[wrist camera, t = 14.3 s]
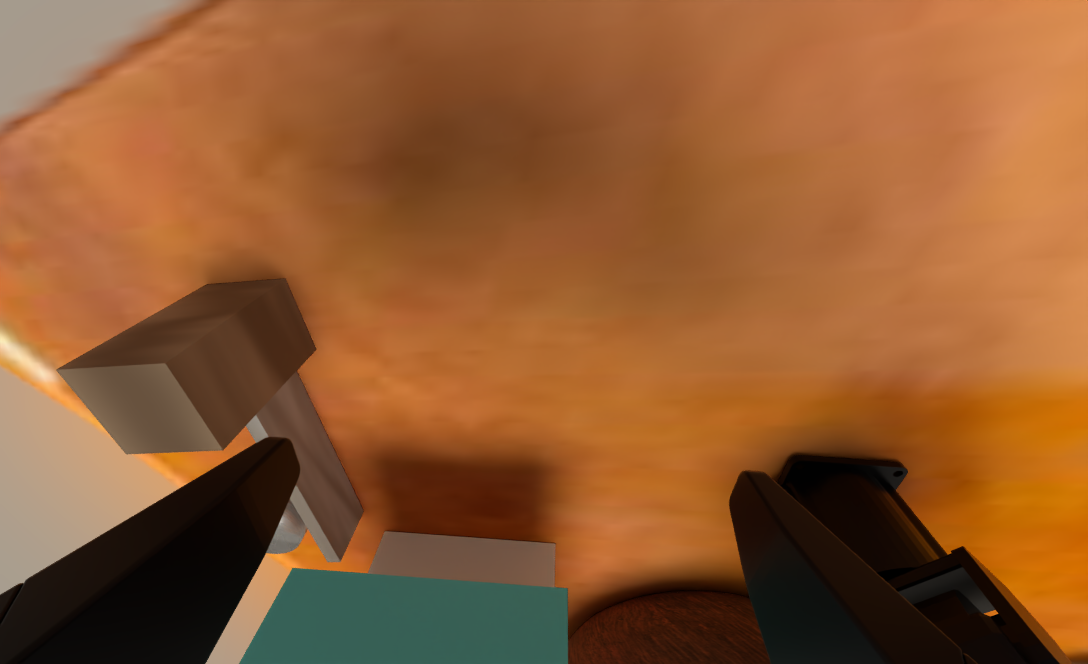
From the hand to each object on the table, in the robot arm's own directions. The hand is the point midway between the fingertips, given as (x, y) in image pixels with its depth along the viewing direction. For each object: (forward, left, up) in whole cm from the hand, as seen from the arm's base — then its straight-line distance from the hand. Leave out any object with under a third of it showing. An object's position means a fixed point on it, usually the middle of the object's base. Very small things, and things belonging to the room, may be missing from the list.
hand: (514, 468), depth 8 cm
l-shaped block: (+4, +20, -12) cm, 24 cm away
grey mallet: (+13, +11, -12) cm, 21 cm away
